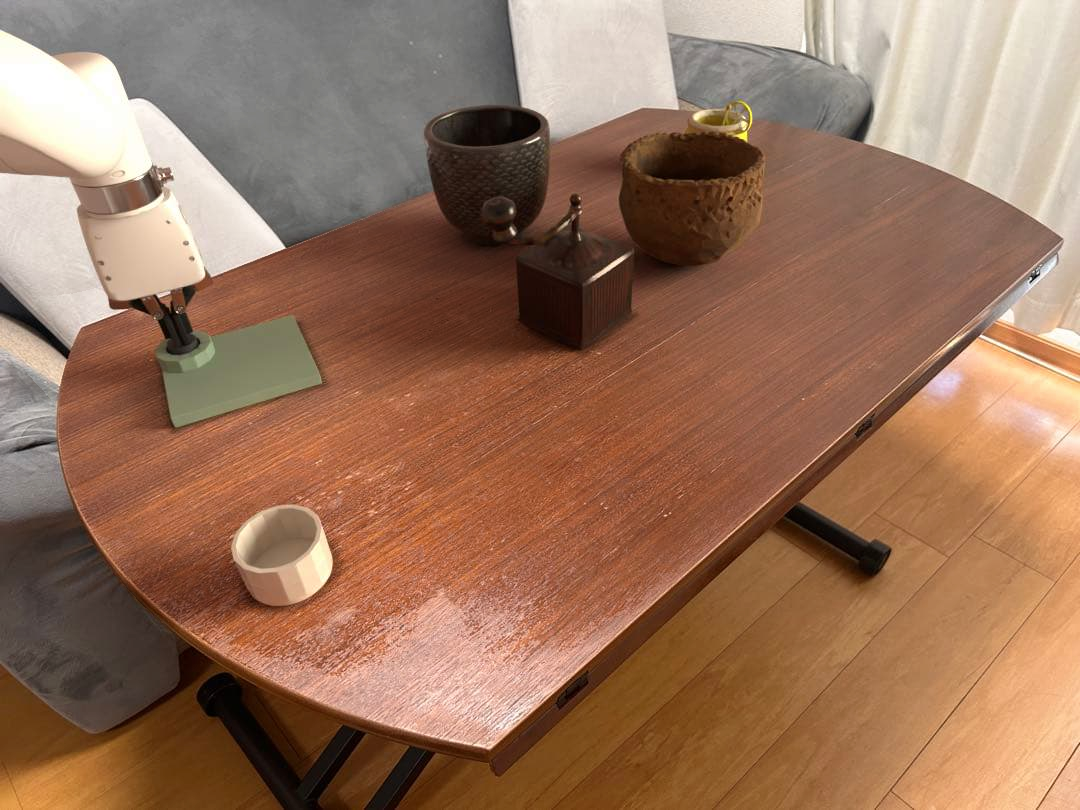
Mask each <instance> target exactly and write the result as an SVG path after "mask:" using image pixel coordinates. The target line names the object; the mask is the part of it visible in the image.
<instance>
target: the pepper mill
mask: <svg viewBox="0 0 1080 810" xmlns="http://www.w3.org/2000/svg"><path fill="white" fill-rule="evenodd" d="M569 202H570V205H569V208H568V212H567V213H566V215H565V216H564V217H563V218H561V220H560V221H559V222H558V223H556V224H555V225H554V226H553V227H551V228H550V229H549V230H546V231H545V232H543V233H541V234H539V235H536V236H532V237H523V236H521V237H519V236H516V234H517V229H516V227H515V226H514V225H513V224H512V222H513V220H514V218H515V215H516V206H515V204H514V202H513V201H512V200H510V199H507V198H505V197H493V198H491V199H489V200H488V201H486V202H485V203H484V205H483V208H482V211H481V214H480V216H481V219H482V221H483V222H484V223H485V224H487V225H488V226H489V227H491V228H492V229H493V234H492V237H493V238H494V239H495V240H496V241H498V242H507V241H508V242H510V243H509V244H515V245H518V246H522V247H529V248H527V249H524V250H523V251H521V252H520V253H518V254H516V255H515V259H514V260H515V270H516V271H515V272H516V287H517V301H518V302H517V303H518V304H517V305H518V318H517V321H518V322H519V323H521V324H523V325H524V326H526V328H528V329H530V330H532V331H534V332H536V333H538V334H540V335H542V336H544V337H546V338H549V339H550V340H553V341H555V342H557V343H559V344H561V345H564V346H566V347H567V346H568V347H570V348H573V349H575V350H579V351H583V350H585V349H587V348H588V347H591V346H593V345H594V344H595V343H597V342H598V341H599V340H600V339H602V338H604V337H605V336H607V334H609V332H611V331H613V330H614V329H615V328H617V326H619V325H620V324H621V323H622V322H623V321H624V320H626V319H627V318H628V317H629V316H630V315H632V310H633V309H632V300H633V299H632V298H633V283H634V260H635V249H634V248H633V247H631V246H628V245H626V244H623V243H621V242H618V241H615V240H613V239H609V238H606V237H603V236H601V235H598V234H596V233H593V232H591V231H588V230H585V229H582V228H580V214H581V213H582V212H583V208H582V205H581V203H582V197H581V195H580V194H579V193H577V192H576V193H572V194H571V195H570V197H569Z"/></svg>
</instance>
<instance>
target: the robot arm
mask: <svg viewBox="0 0 1080 810" xmlns="http://www.w3.org/2000/svg"><path fill="white" fill-rule="evenodd" d="M0 174H9V175H19V176H42V177H53V178H64V179H65V178H66V179H69V180H70V184H71V185H72V188H73V190H74V192H75V194H76V196H77V198H78V201H79V203H80V204H79V205H78V206H77V207H76V213H77V218H78V219H77V220H78V223H79V226H80V230H81V233H82V236H83V240H84V243H85V246H86V249H87V253H88V254H89V257H90V260H91V262H92V265H93V267H94V268H93V269H94V270H95V273H96V276H97V278H98V280H99V282H100V284H101V287H102V289H103V291H104V293H105V295H106V296H107V300H108V307H109V308H110V309H111V310H114V311H117V310H130V309H134V310H136V311H139V312H141V313H144V314H146V315H149V316H151V318H152V319H154V320H157V323H158V325H159V327H160V330H161V332H162V334H163V337H164V339H170V338H172V340H173V343H174V345H175V347H176V348H177V347H180V345H182V343H183V344H185V345H188V344H190V341H189V337H188V334H189V333H192V332H193V331H194V329H193V326H192V323H191V321H190V318H189V317H188V313H187V307H188V305H189V304H190V302H191V300H192V299H193V297H194V296H195V293H199V292H201V291H204V290H205V289H207V288H209V287H211V286H212V285H213V283H214V281H213V278H212V276H211V274H210V272H209V271H208V270H207V268H206V266H204V262H203V257H202V254H201V250H200V248H199V246H198V243H197V241H196V238H195V236H194V234H193V231H192V229H191V227H190V225H189V221H188V220H187V218H186V215H185V213H184V210H183V209H182V207H181V205H180V203H179V202H178V200H177V198H176V196H175V195H174V194H173V192H172V190H171V189H170V188H169V187H167V186H165V184H168V182H173V181H175V178H174V175H173V172H172V169H171V167H170V166H168V167H164V168H163V167H161V166H160V167H158V166H157V165H155V164H153V161H152V159H151V156H150V154H149V151H148V149H147V146H146V143H145V140H144V139H143V135H142V132H141V130H140V127H139V124H138V122H137V119H136V117H135V114H134V111H133V108H132V106H131V103H130V100H129V97H128V95H127V92H126V90H125V86H124V84H123V82H122V79H121V77H120V74H119V71H118V70H117V68H116V66H115V64H114V63H113V62H112V61H111V60H110V59H109V58H108V57H107V56H104V55H102V54H101V53H96V52H90V51H75V52H65V53H59V54H55V55H50V54H48V53H47V52H45V51H43V50H42V49H40V48H38V47H36V46H34V45H33V44H31V43H30V42H27V41H25V40H23V39H21V38H19V37H17V36H14V35H13V34H11V33H9V32H6V31H4V30H2V29H0ZM168 292H170V297H171V300H170V302H169V305H170V306H167V305H166V304H165V303H164V302H162V301H161V299H160V298H159V296H158V295H159V294H162V293H168ZM181 340H182V343H181Z"/></svg>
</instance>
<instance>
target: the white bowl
mask: <svg viewBox="0 0 1080 810" xmlns="http://www.w3.org/2000/svg"><path fill="white" fill-rule="evenodd" d="M230 550H231V555H232V560H233V561H234V564H235V566H236V569H237V570H238V574H239V575H240V577H241V580H242V582H243V583H244V586H245V587H246V590H247V591H248V592H249V594H250V595H251V596H252V598H253V599H255V600H256V601H258V602H260V603H261V604H264V605H267V606H272V607H285V606H291V605H294V604H295V605H296V604H298V603H301V602H302V601H305V600H307V599H308V598H311V597H312V596H313V595H314V594H316V593H317V592H318V591H319V590H321V589H322V587H323V586H324V585H325V584H326V582H327V581H328V580H329V578H330V575H331V574H332V570H333V564H334V562H333V555H332V552H331V549H330V546H329V543H328V540H327V537H326V533H325V531H324V528H323V525H322V522H321V520H320V516H319V515H318V514H317V513H315V512H314V511H312V509H310V508H309V507H307V506H302V505H298V504H294V503H293V504H291V503H290V504H280V505H279V504H278V505H275V506H272V507H269V508H266V509H263V510H260V511H258V512H257V513H256V514H254V515H252V516H251V517H249V518H248V519H246V520H245V521H244V522H243V523H242V524H241V526H240V527H239V528H238V529H237V531H236V532H235V533H234V536H233V539H232V542H231V545H230Z"/></svg>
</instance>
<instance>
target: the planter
mask: <svg viewBox="0 0 1080 810" xmlns="http://www.w3.org/2000/svg"><path fill="white" fill-rule="evenodd" d="M550 128H551V127H550V124H549V120H548V119H547V118H546V117H545V116H544V115H543V114H542V113H541V112H538V111H536V110H534V109H530V108H527V107H523V106H517V105H511V104H509V105H508V104H480V105H472V106H471V105H470V106H466V107H460V108H455V109H452V110H450V111H446V112H443V113H440V114H439V115H437V116H435V117H433V118H431V120H429V121H428V122H427V123H426V125H425V126H424V128H423V142H424V147H425V155H426V162H427V167H428V168H427V169H428V172H429V178H430V181H431V185H432V189H433V194H434V197H435V199H436V202H437V205H438V208H439V209H440V211H441V213H442V215H443V216H444V218H445V219H446V221H447V222H448V223H449V224H450V225H451V226H452V227H453V228H455V230H457V231H459V232H460V233H462V234H463V235H464V237H465V238H466V239H467V240H469V241H470V242H471V243H473V244H476V245H479V246H486V247H497V246H503V245H508V244H511V243H510V242H508V241H507V242H498V241H496V240H495V239H494V238H493V237H492V234H493V229H492V228H491V227H489V226H488V225H487V224H485V223H484V222H483V221H482V219H481V216H480V214H481V211H482V208H483V205H484V203H485V202H486V201H488V200H489V199H491V198H493V197H505V198H507V199H510V200H512V201H513V202H514V204H515V206H516V215H515V218H514V220H513V222H512V224H513V225H514V226H515V227H516V229H517V234H516V236H519V237H523V235H524V234H525V232H526V230H527V229H528V228H529V227H530V226H531V225H533V223H535V221H536V220H537V219H538V218H539V215H540V214H541V212H542V210H543V208H544V206H545V203H546V198H547V194H548V189H549V178H550V166H551V165H550V163H551V131H550Z"/></svg>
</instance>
